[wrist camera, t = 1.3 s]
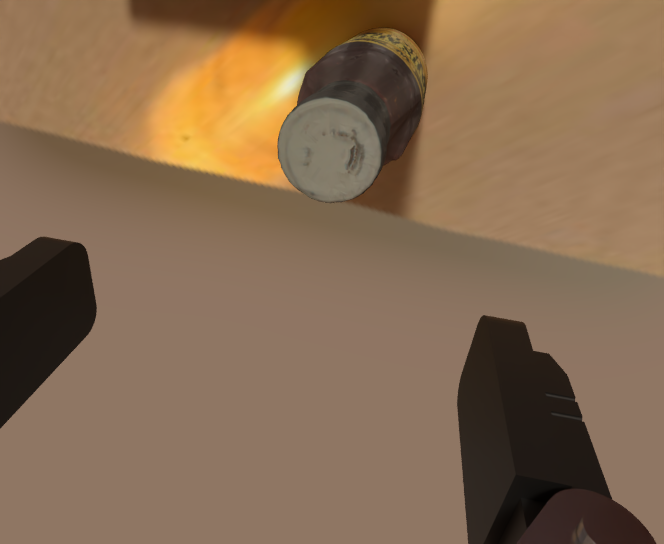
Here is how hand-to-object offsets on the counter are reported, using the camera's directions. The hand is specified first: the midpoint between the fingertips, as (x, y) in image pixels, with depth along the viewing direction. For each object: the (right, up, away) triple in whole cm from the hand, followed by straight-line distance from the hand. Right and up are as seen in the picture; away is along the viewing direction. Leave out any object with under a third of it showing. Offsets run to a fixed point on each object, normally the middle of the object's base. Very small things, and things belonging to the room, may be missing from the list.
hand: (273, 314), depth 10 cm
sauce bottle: (+5, +15, +25) cm, 30 cm away
